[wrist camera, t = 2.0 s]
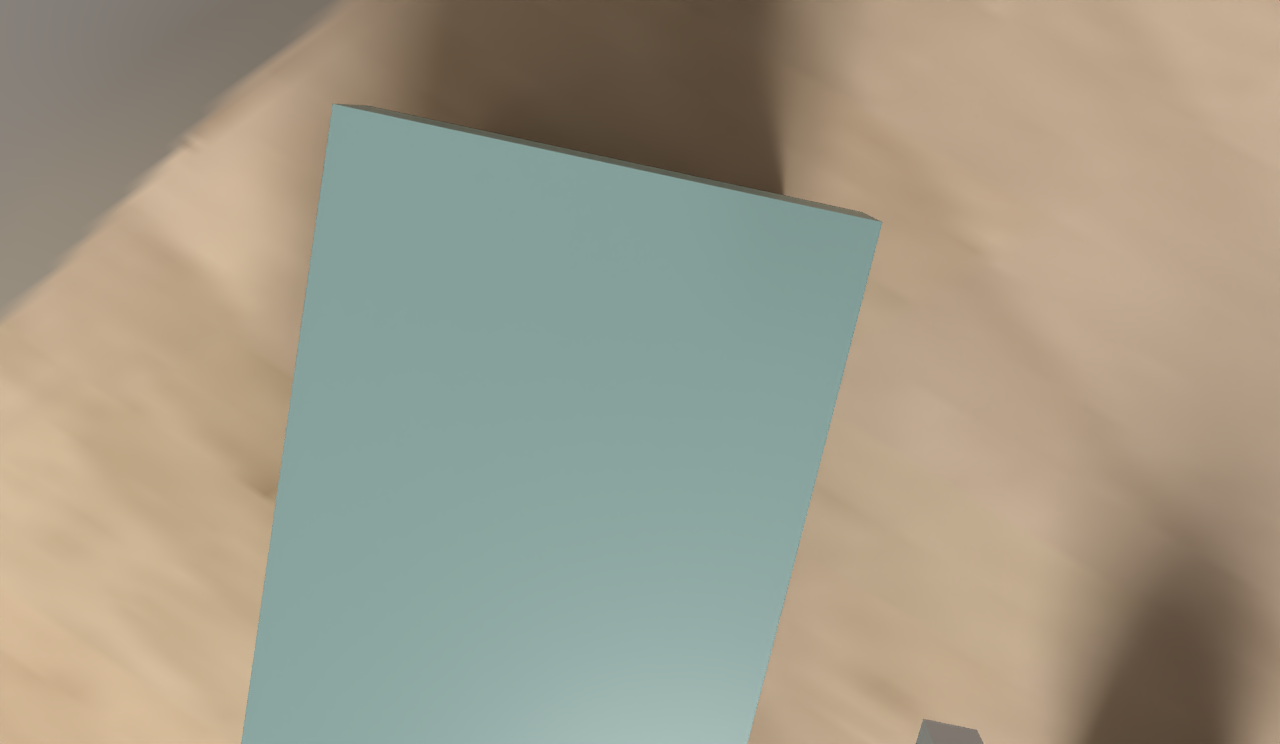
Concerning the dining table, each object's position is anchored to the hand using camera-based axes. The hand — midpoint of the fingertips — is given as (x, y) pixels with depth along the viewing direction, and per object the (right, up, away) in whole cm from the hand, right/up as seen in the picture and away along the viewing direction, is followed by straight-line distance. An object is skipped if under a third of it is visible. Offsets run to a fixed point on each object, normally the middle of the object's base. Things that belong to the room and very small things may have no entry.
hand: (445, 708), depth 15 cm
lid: (+1, +2, +10) cm, 11 cm away
